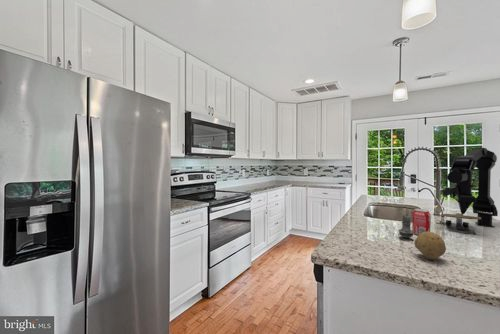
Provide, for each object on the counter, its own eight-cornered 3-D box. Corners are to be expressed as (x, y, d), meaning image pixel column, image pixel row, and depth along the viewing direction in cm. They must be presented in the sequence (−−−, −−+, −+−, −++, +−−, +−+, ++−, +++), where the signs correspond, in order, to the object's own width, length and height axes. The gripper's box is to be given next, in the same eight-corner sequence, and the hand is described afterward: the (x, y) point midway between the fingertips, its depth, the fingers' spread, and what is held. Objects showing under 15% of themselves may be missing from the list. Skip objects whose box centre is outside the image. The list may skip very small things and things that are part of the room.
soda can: (423, 232, 114) (424, 208, 113) (433, 237, 107) (434, 211, 106) (408, 232, 114) (409, 208, 114) (417, 236, 107) (418, 211, 107)
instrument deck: (441, 216, 132) (441, 211, 132) (470, 219, 125) (470, 214, 125) (447, 215, 114) (447, 210, 114) (480, 219, 107) (480, 214, 108)
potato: (408, 255, 86) (409, 229, 86) (422, 252, 89) (423, 226, 89) (436, 266, 78) (437, 237, 77) (450, 261, 81) (451, 233, 81)
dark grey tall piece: (416, 241, 100) (417, 214, 100) (401, 240, 102) (402, 214, 101) (410, 237, 106) (410, 211, 106) (396, 236, 107) (396, 211, 107)
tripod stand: (444, 223, 129) (444, 214, 129) (468, 226, 124) (468, 216, 123) (448, 231, 116) (449, 220, 116) (475, 234, 110) (476, 223, 110)
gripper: (440, 180, 125) (439, 208, 125) (445, 183, 109) (444, 215, 110) (468, 181, 118) (467, 211, 119) (477, 184, 103) (476, 218, 103)
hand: (462, 213), depth 113 cm, fingers closed
